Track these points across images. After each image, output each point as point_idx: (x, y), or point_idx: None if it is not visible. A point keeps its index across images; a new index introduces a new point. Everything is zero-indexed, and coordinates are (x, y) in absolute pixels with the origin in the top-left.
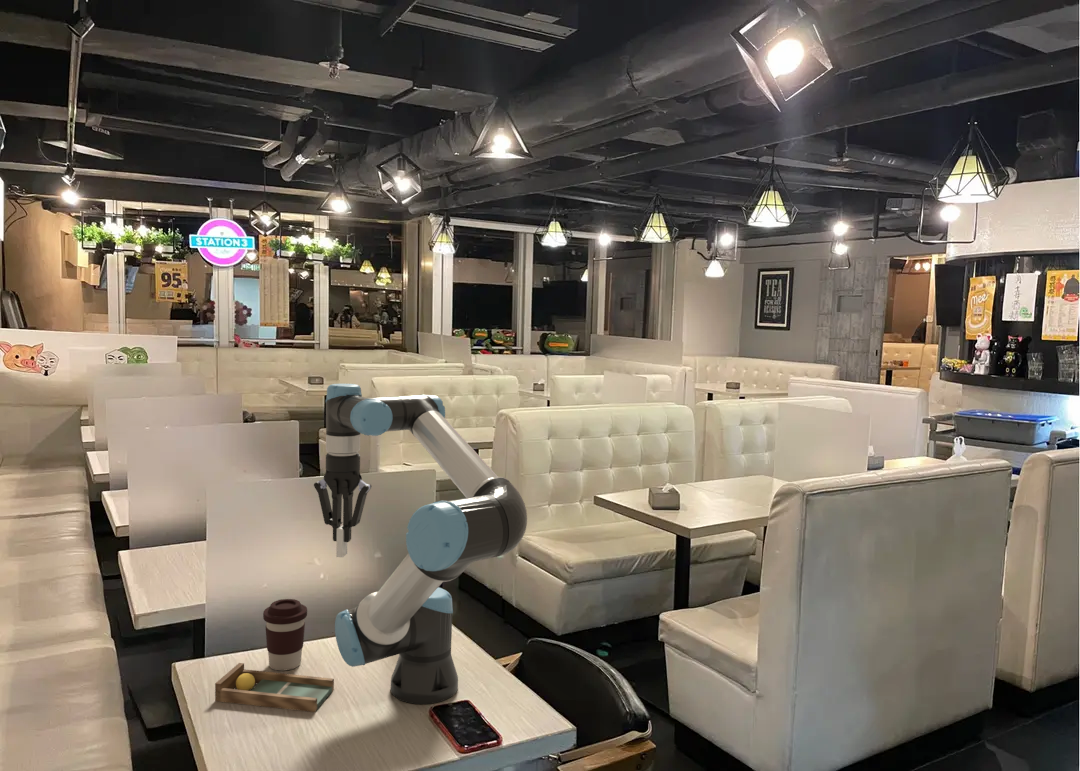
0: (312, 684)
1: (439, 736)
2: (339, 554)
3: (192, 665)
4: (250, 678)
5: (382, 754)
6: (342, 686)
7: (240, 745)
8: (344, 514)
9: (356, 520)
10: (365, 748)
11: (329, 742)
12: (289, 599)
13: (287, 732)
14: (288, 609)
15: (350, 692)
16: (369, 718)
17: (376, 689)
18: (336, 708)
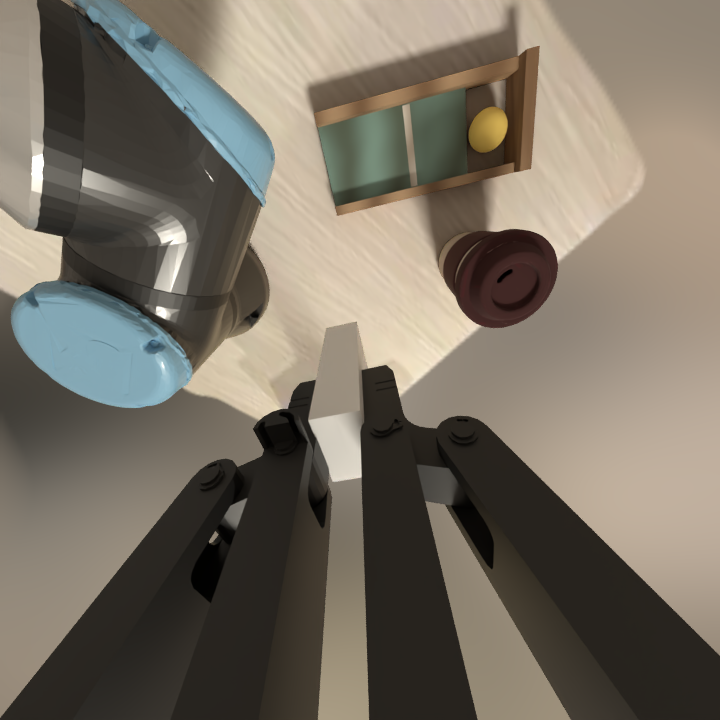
0: (371, 197)
1: None
2: (341, 330)
3: (623, 183)
4: (479, 126)
5: None
6: (332, 232)
7: None
8: (272, 555)
9: (167, 516)
10: None
11: (214, 9)
12: (517, 313)
13: (312, 6)
14: (494, 263)
15: (308, 219)
16: None
17: (277, 248)
18: (292, 153)
